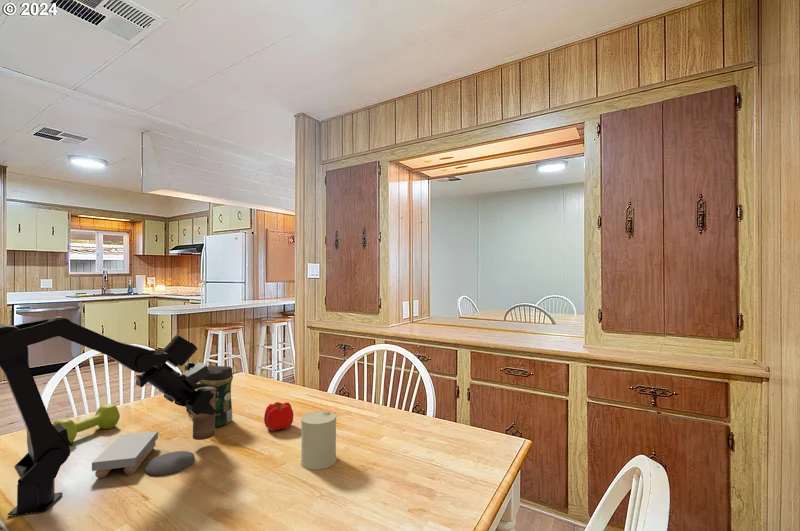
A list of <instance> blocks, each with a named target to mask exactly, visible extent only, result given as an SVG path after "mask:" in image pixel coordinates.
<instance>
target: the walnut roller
mask: <svg viewBox="0 0 800 531" xmlns="http://www.w3.org/2000/svg"><path fill="white" fill-rule="evenodd" d="M202 388H205V389H208V390H210V391H211V392H213V393H214V396H213V398H212V399H211V400H210V401H209V402H210V404H211V405H212V407H213V408H214V410H215V393H216V388H215V387H202ZM198 389H200V388H198ZM198 389H195V391H197V390H198ZM193 395H194V394H193ZM215 435H216V427H215V414H214V415H209V414H198V415H196V414H194V413H192V439H193V440H196V441H203V440H204V441H205V440H208V439H210V438H213V437H214V436H215Z"/></svg>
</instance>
